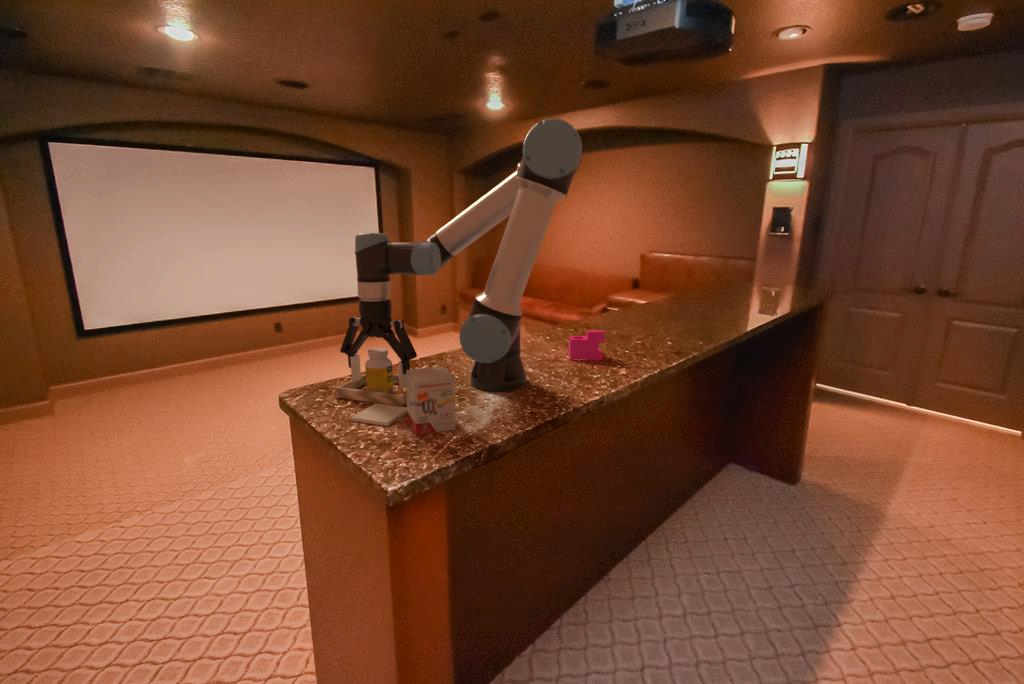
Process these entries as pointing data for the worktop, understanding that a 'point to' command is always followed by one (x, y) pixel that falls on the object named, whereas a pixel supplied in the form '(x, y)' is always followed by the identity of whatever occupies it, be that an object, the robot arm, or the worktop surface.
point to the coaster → (380, 414)
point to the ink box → (430, 400)
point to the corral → (370, 393)
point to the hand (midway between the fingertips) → (379, 383)
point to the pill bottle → (379, 371)
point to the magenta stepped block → (586, 345)
